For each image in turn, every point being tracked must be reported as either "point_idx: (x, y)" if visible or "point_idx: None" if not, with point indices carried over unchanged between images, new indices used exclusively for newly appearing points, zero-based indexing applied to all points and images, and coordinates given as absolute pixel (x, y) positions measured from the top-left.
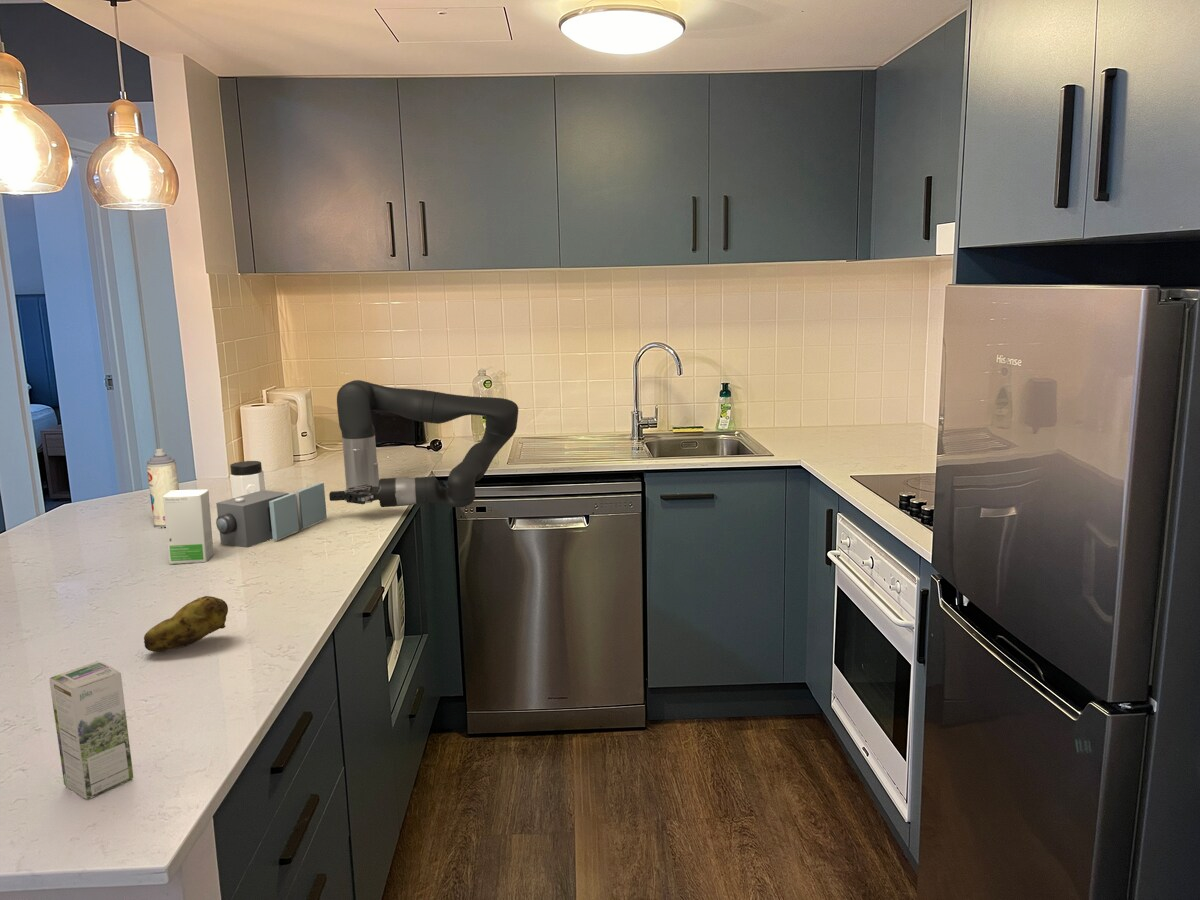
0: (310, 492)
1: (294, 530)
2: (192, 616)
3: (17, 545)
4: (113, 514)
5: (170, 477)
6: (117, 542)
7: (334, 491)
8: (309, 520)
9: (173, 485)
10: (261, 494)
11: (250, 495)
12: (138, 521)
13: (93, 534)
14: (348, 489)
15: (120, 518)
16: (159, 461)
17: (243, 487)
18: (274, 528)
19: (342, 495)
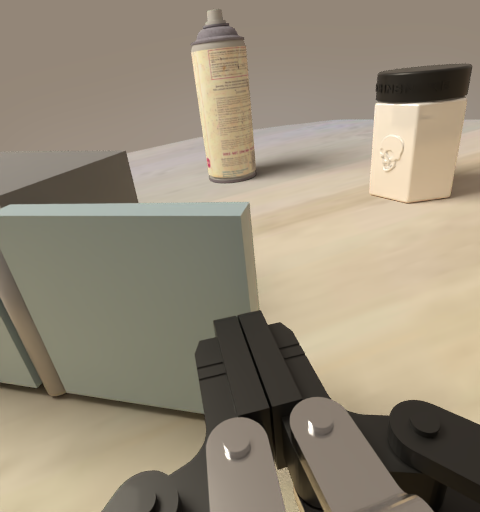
0: (88, 245)
1: (6, 376)
2: None
3: (155, 148)
4: (293, 139)
5: (206, 79)
6: (132, 178)
7: (258, 330)
8: (105, 378)
9: (214, 98)
10: (38, 165)
11: (43, 157)
12: (255, 157)
13: (188, 158)
14: (348, 426)
15: (272, 146)
16: (197, 39)
17: (374, 137)
18: None
19: (206, 435)
